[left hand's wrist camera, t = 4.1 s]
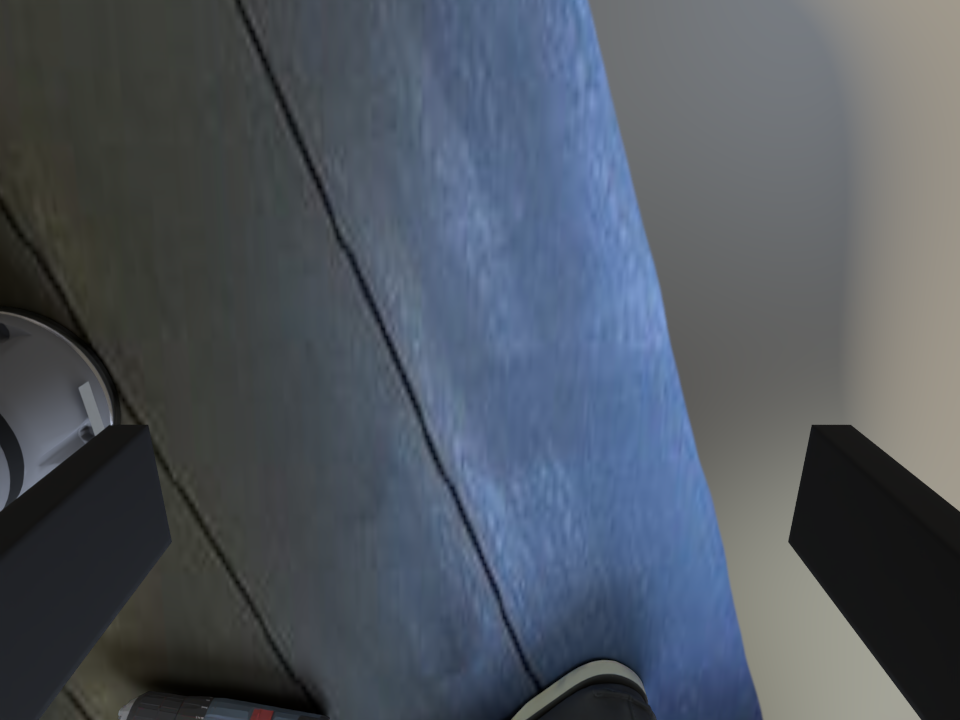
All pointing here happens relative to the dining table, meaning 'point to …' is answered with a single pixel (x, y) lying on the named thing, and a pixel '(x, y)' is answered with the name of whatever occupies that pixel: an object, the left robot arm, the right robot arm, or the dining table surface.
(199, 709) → the power drill
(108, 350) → the dining table surface
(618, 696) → the boat shoe
